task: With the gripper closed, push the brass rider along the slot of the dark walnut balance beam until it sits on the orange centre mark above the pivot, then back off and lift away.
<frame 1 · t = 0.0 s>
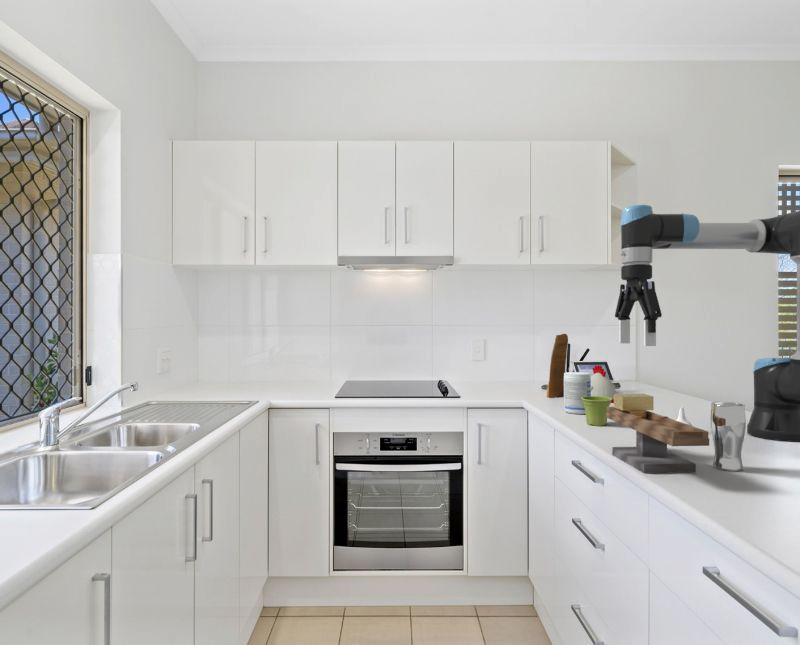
hand: (636, 344, 139), 28 cm above the worktop, fingers open, 13 cm apart
supplement tub: (577, 412, 195), on the worktop
garlic bulb: (681, 433, 161), on the worktop
balance beam: (651, 462, 127), on the worktop
kitchen timer: (599, 401, 223), on the worktop
beer glass: (727, 468, 122), on the worktop
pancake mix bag: (558, 396, 236), on the worktop
brass rider: (633, 405, 136), point 12 cm above the worktop, slide at -9.0 cm
plant pot: (596, 425, 173), on the worktop
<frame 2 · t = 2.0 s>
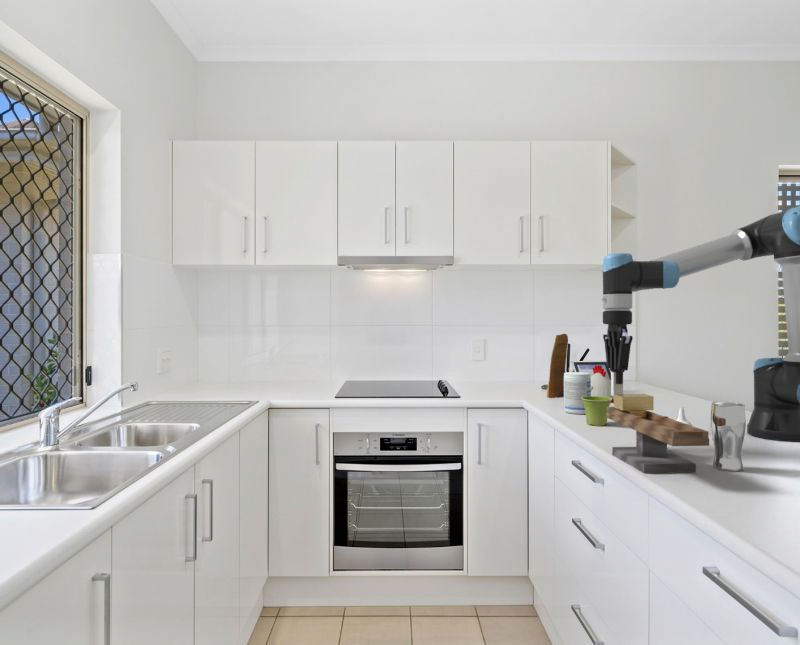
hand: (617, 395, 144), 14 cm above the worktop, fingers closed
nothing on the worktop moved.
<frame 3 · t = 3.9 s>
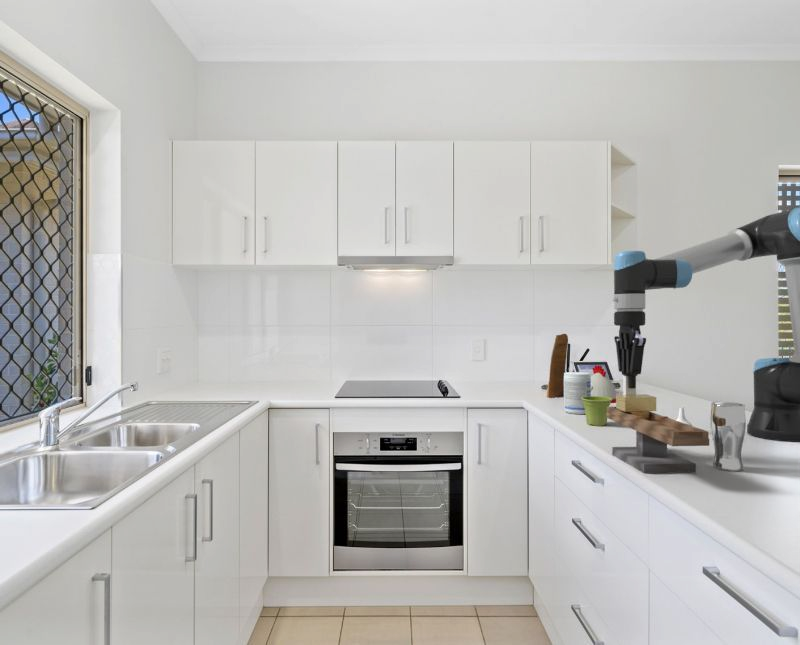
hand: (629, 400, 137), 13 cm above the worktop, fingers closed
brass rider: (635, 406, 134), point 12 cm above the worktop, slide at -7.6 cm, touching gripper
everything else where it was.
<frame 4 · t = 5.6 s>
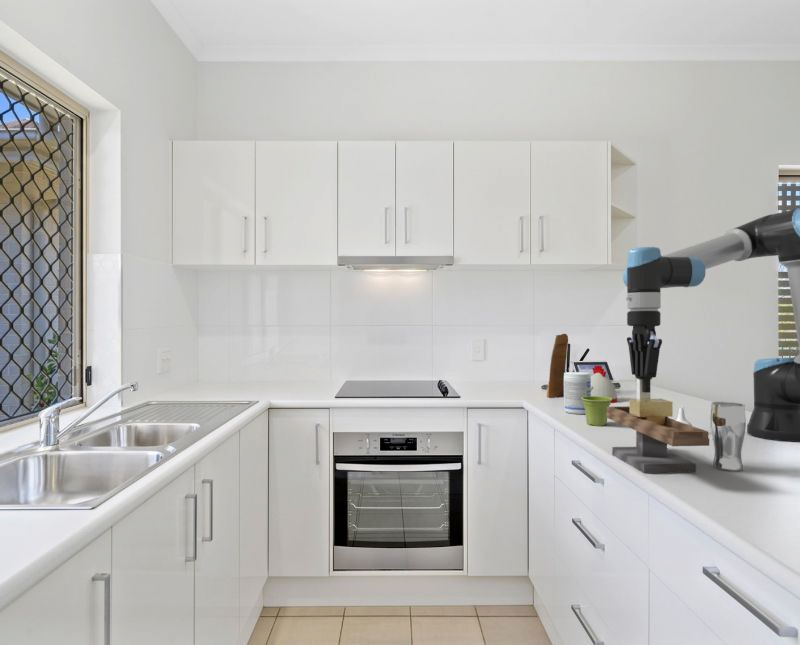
hand: (643, 404, 130), 13 cm above the worktop, fingers closed
brass rider: (650, 411, 127), point 12 cm above the worktop, slide at -0.4 cm, touching gripper
everything else where it was.
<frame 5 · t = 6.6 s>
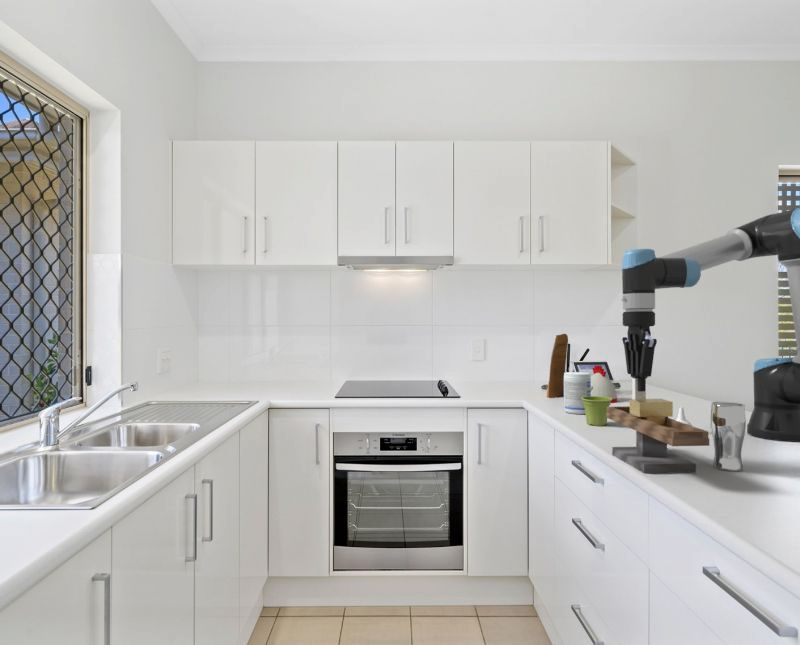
hand: (639, 403, 133), 13 cm above the worktop, fingers closed
brass rider: (650, 411, 127), point 12 cm above the worktop, slide at -0.3 cm
everything else where it was.
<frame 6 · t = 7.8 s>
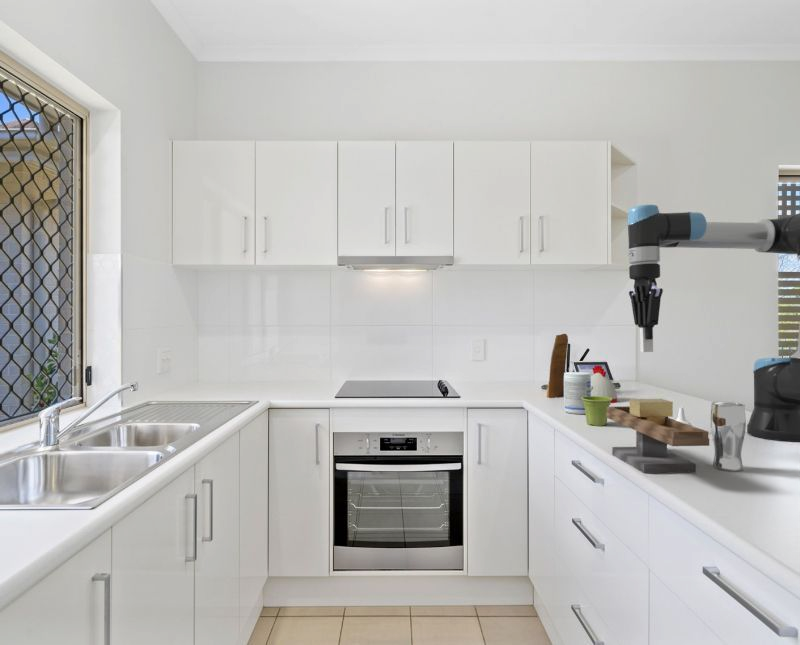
hand: (646, 351, 141), 26 cm above the worktop, fingers closed
nothing on the worktop moved.
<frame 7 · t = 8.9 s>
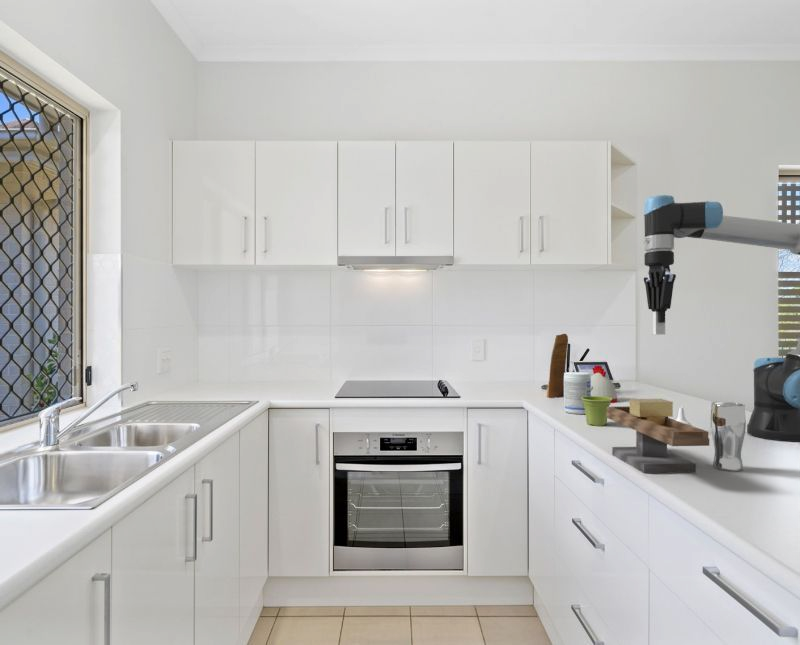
hand: (659, 334, 149), 30 cm above the worktop, fingers closed
nothing on the worktop moved.
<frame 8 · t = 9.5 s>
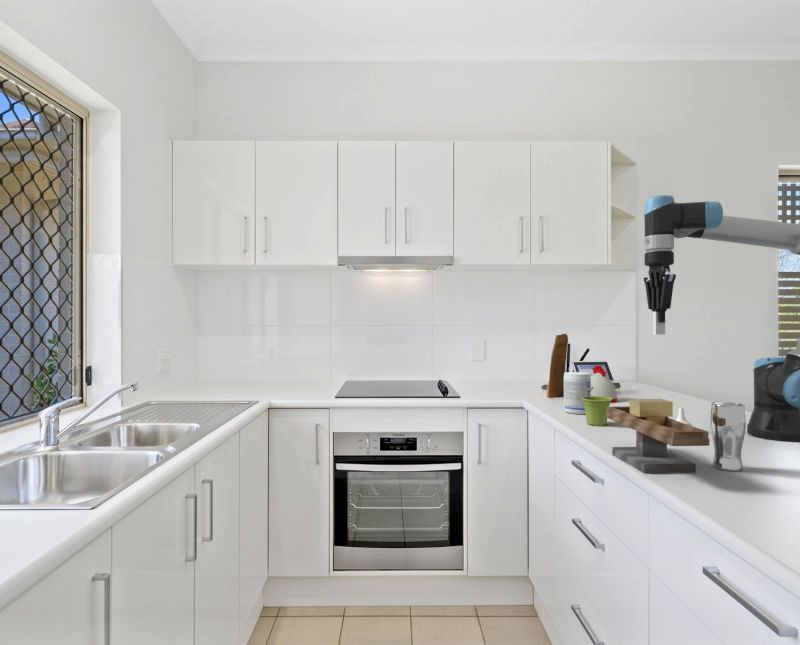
hand: (659, 334, 149), 30 cm above the worktop, fingers closed
nothing on the worktop moved.
at the end: brass rider slide at -0.3 cm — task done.
